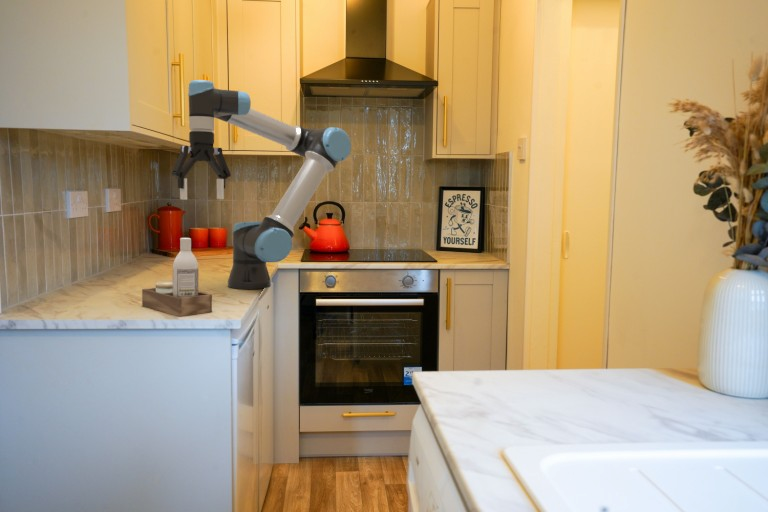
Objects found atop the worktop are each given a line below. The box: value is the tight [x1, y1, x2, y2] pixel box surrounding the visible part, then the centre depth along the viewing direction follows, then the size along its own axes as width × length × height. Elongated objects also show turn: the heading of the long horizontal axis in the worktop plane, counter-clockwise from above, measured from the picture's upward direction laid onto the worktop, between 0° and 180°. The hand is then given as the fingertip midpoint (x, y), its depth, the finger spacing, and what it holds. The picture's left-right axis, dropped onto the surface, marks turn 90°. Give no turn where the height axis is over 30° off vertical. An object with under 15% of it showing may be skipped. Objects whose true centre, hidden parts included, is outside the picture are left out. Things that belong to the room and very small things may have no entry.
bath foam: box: [172, 237, 199, 298], centre depth 187 cm, size 7×7×20 cm
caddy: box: [141, 287, 213, 317], centre depth 191 cm, size 10×20×5 cm, turn 48°
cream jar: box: [154, 280, 173, 293], centre depth 194 cm, size 7×7×6 cm
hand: (202, 199), depth 209 cm, fingers open, 13 cm apart
